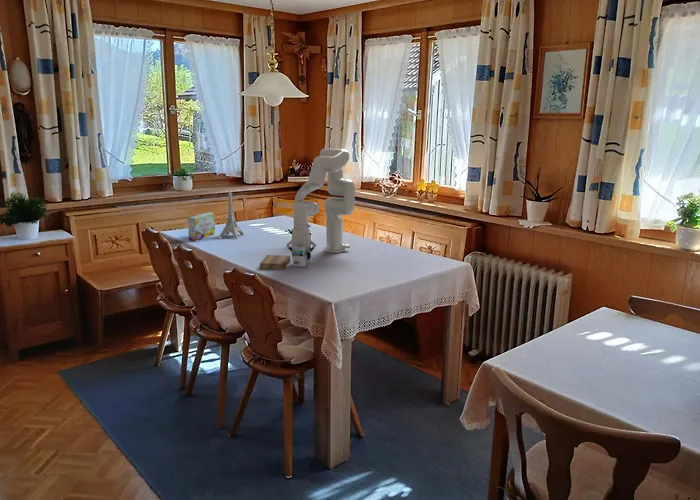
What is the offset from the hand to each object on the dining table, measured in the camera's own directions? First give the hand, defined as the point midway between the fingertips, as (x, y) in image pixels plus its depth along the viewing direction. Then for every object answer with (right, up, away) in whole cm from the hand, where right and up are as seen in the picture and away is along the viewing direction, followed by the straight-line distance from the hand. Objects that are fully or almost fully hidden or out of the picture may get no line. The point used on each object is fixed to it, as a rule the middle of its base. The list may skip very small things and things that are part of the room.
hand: (301, 258), depth 299 cm
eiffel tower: (-51, +13, +64) cm, 83 cm away
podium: (-14, -3, 0) cm, 14 cm away
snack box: (-69, +12, +59) cm, 92 cm away
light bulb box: (0, -3, +1) cm, 3 cm away
